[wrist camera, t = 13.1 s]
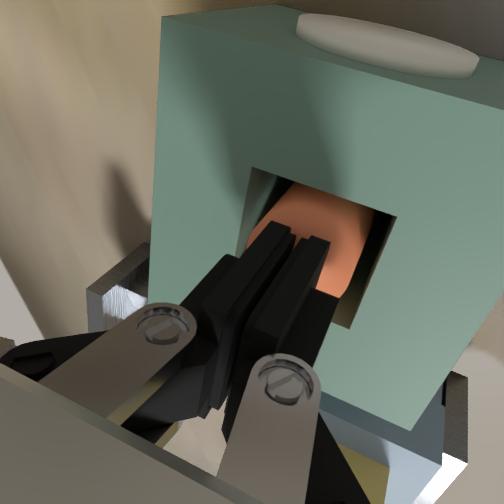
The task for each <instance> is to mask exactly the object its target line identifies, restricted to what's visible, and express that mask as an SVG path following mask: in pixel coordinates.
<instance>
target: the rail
mask: <svg viewBox="0 0 504 504" xmlns="http://www.w3.org/2000/svg"><path fill="white" fill-rule="evenodd" d="M149 265H150V246H149V245H147V244H145V243H143V244H142V245H140V246H139V247H138V248H137V249H135V250H134V251H133V252H132V253H130V254H129V255H128V256H127V257H125V258H124V259H123V260H122V261H120V262H119V263H118V264H117V265H115V266H114V267H113V268H112V269H110V270H109V271H108V272H107V273H105V274H104V275H103V276H102V277H100V278H99V279H98V280H97V281H95V282H94V283H93V284H92V285H90V286H89V287H88V288H87V289H86V297H87V314H88V331H89V333H93V332H100V331H106V330H110V329H111V328H113V327H114V326H116V325H117V324H118V323H120V322H121V321H122V320H124V319H125V318H127V317H128V316H129V315H131V314H132V313H133V312H135V311H136V310H138V309H139V308H141V307H143V306H145V305H148V286H149ZM441 405H443V406H445V425H444V443H443V461H442V467H441V468H440V470H439V471H438V472H437V473H436V475H435V476H434V477H433V478H432V479H431V481H430V482H429V483H428V484H427V486H426V487H425V488H424V489H423V491H422V492H421V493H420V494H419V496H418V497H417V498H416V499H415V501H414V502H413V503H412V504H433V503H434V502H435V501H436V500H437V499H438V497H439V496H440V495H441V494H442V493H443V492H444V490H445V489H446V488H447V487H448V486H449V485H450V484H451V482H452V481H453V480H454V479H455V478H456V477H457V475H458V474H459V473H460V472H461V471H462V470H463V468H464V467H465V466H466V465H467V464H468V463H467V461H468V378H467V377H465V376H462V375H460V374H458V373H456V372H453V371H450V372H449V374H448V375H447V377H446V378H445V380H444V381H443V387H442V402H441Z"/></svg>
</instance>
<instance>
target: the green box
mask: <svg viewBox="0 0 504 504" xmlns="http://www.w3.org/2000/svg"><path fill="white" fill-rule="evenodd" d="M294 182H298V183H301V184H304V185H307V186H310V187H313V188H316V189H319V190H321V191H324V192H327V193H330V194H333V195H336V196H339V197H342V198H345V199H347V200H350V201H353V202H356V203H359V204H362V205H365V206H368V207H371V208H373V209H376V210H379V211H382V212H385V213H388V214H389V216H388V218H387V217H384V216H381V215H379V214H377V215H376V217H375V220H374V222H373V225H372V227H371V230H370V232H369V235H368V237H367V240H366V242H365V245H364V247H363V250H362V252H361V255H360V257H359V260H358V262H357V265H356V267H355V270H354V272H353V275H352V277H351V280H350V282H349V285H348V287H347V289H346V290H345V292H344V293H343V294H342V295H341V296H340V297H339V298H340V300H339V303H338V305H337V308H336V311H335V313H334V316H333V318H332V321H331V324H330V326H329V329H328V331H327V334H326V336H325V339H324V341H323V344H322V346H321V349H320V351H319V354H318V356H317V359H316V361H315V364H314V366H313V370H314V371H315V372H316V374H317V375H318V378H319V380H320V383H321V391H323V392H325V393H327V394H330V395H332V396H334V397H336V398H338V399H341V400H343V401H345V402H347V403H349V404H352V405H354V406H356V407H358V408H360V409H363V410H365V411H367V412H369V413H371V414H374V415H376V416H378V417H380V418H382V419H385V420H387V421H389V422H391V423H393V424H396V425H398V426H400V427H402V428H404V429H406V430H409V431H411V430H412V428H413V427H414V425H415V424H416V422H417V421H418V419H419V418H420V416H421V415H422V413H423V412H424V410H425V409H426V407H427V406H428V404H429V403H430V401H431V400H432V398H433V397H434V395H435V394H436V392H437V390H438V389H439V387H440V386H441V384H442V383H443V381H444V380H445V378H446V377H447V375H448V374H449V372H450V371H451V369H452V368H453V366H454V365H455V363H456V362H457V360H458V359H459V357H460V356H461V354H462V353H463V351H464V350H465V348H466V347H467V345H468V344H469V342H470V341H471V339H472V338H473V336H474V335H475V333H476V332H477V330H478V329H479V327H480V326H481V324H482V323H483V321H484V320H485V318H486V317H487V315H488V314H489V312H490V311H491V309H492V308H493V306H494V305H495V303H496V302H497V300H498V299H499V297H500V296H501V294H502V293H503V291H504V61H501V60H497V59H493V58H489V57H485V56H481V55H477V54H474V53H472V52H470V51H468V50H466V49H464V48H462V47H459V46H456V45H454V44H451V43H448V42H445V41H442V40H439V39H436V38H433V37H430V36H426V35H423V34H419V33H416V32H412V31H408V30H404V29H400V28H396V27H392V26H388V25H383V24H379V23H374V22H369V21H364V20H359V19H353V18H347V17H341V16H334V15H325V14H313V13H309V12H305V11H301V10H297V9H293V8H289V7H285V6H281V5H277V4H270V5H261V6H252V7H243V8H234V9H225V10H216V11H207V12H198V13H189V14H180V15H171V16H162V21H161V41H160V61H159V82H158V102H157V123H156V143H155V163H154V184H153V204H152V224H151V245H150V265H149V286H148V304H152V303H156V302H167V303H173V304H177V305H179V304H180V303H181V302H182V301H183V300H184V299H185V298H186V297H187V296H188V294H189V293H190V292H191V291H192V290H193V289H194V288H195V287H196V286H197V285H198V283H199V282H200V281H201V280H202V279H203V278H204V277H205V276H206V275H207V273H208V272H209V271H210V270H211V269H212V268H213V267H214V266H215V265H216V264H217V262H218V261H219V260H220V259H221V258H222V257H223V256H224V255H225V254H230V255H232V256H235V257H237V258H240V257H241V255H242V254H243V253H244V252H245V251H246V247H247V242H248V238H249V236H250V234H251V232H252V231H253V229H254V228H255V227H256V226H257V225H258V224H259V222H260V221H261V220H262V219H263V218H264V217H265V216H266V214H267V213H268V212H269V211H270V210H271V209H272V207H273V206H274V205H275V204H276V203H277V202H278V201H279V199H280V198H281V197H282V196H283V195H284V194H285V193H286V191H287V190H288V189H289V188H290V187H291V186H292V185H293V183H294Z"/></svg>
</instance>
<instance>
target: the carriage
mask: <svg viewBox="0 0 504 504" xmlns="http://www.w3.org/2000/svg"><path fill="white" fill-rule="evenodd" d="M442 387H443V383H442V384H441V386H440V387H439V389H438V390H437V392H436V394H435V395H434V397H433V398H432V400H431V401H430V403H429V404H428V406H427V407H426V409H425V410H424V412H423V413H422V415H421V416H420V418H419V419H418V421H417V422H416V424H415V425H414V427H413V428H412V430H411V431H409V430H406V429H404V428H402V427H400V426H398V425H396V424H393V423H391V422H389V421H387V420H385V419H382V418H380V417H378V416H376V415H374V414H371V413H369V412H367V411H365V410H363V409H360V408H358V407H356V406H354V405H352V404H349V403H347V402H345V401H343V400H341V399H338V398H336V397H334V396H332V395H330V394H327V393H325V392H323V391H321V397H320V404H319V413H320V415H321V416H322V418H323V420H324V422H325V423H326V425H327V427H328V429H329V431H330V432H331V434H332V436H333V438H334V439H335V441H336V443H337V445H338V446H339V448H340V450H341V452H342V454H343V455H344V457H345V459H346V461H347V462H348V464H349V466H350V468H351V469H352V471H353V473H354V475H355V477H356V478H357V480H358V482H359V484H360V485H361V487H362V489H363V491H364V492H365V494H366V496H367V498H368V500H369V501H370V503H371V504H412V503H413V502H414V501H415V499H416V498H417V497H418V496H419V494H420V493H421V492H422V491H423V489H424V488H425V487H426V486H427V484H428V483H429V482H430V481H431V479H432V478H433V477H434V476H435V475H436V473H437V472H438V471H439V470H440V468H441V467H442V461H443V443H444V425H445V406H443V405H441V402H442Z"/></svg>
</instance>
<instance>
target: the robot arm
mask: <svg viewBox="0 0 504 504" xmlns="http://www.w3.org/2000/svg"><path fill="white" fill-rule="evenodd" d="M290 232H291V227H289V226H286V225H283V224H281V223H278V222H275V221H273V220H271V221H270V222H269V223H268V224H267V226H266V227H265V228H264V229H263V230H262V232H261V233H260V234H259V235H258V236H257V238H256V239H255V240H254V241H253V242H252V243H251V245H250V246H249V247H248V248H247V249H246V251H245V252H244V253H243V254H242V255H241V257H240V258H237V257H235V256H232V255H230V254H225V255H224V256H223V257H222V258H221V259H220V260H219V261H218V262H217V264H216V265H215V266H214V267H213V268H212V269H211V270H210V271H209V272H208V273H207V275H206V276H205V277H204V278H203V279H202V280H201V281H200V282H199V283H198V285H197V286H196V287H195V288H194V289H193V290H192V291H191V292H190V293H189V294H188V296H187V297H186V298H185V299H184V300H183V301H182V302H181V303H180V304H179V305H177V304H173V303H167V302H156V303H152V304H148V305H145V306H143V307H141V308H139V309H138V310H136V311H135V312H133V313H132V314H131V315H129V316H128V317H127V318H125V319H124V320H122V321H121V322H120V323H118V324H117V325H116V326H114V327H113V328H111V329H110V330H106V331H100V332H93V333H86V334H79V335H73V336H66V337H59V338H52V339H46V340H39V341H33V342H29V343H25V344H21V345H19V346H15V343H14V340H11V339H7V338H3V337H0V504H371V503H370V501H369V500H368V498H367V496H366V494H365V492H364V491H363V489H362V487H361V485H360V484H359V482H358V480H357V478H356V477H355V475H354V473H353V471H352V469H351V468H350V466H349V464H348V462H347V461H346V459H345V457H344V455H343V454H342V452H341V450H340V448H339V446H338V445H337V443H336V441H335V439H334V438H333V436H332V434H331V432H330V431H329V429H328V427H327V425H326V423H325V422H324V420H323V418H322V416H321V415H320V413H319V404H320V397H321V383H320V380H319V378H318V375H317V374H316V372H315V371H314V370H313V366H314V364H315V361H316V359H317V356H318V354H319V351H320V349H321V346H322V344H323V341H324V339H325V336H326V334H327V331H328V329H329V326H330V324H331V321H332V318H333V316H334V313H335V311H336V308H337V305H338V303H339V300H340V298H338V297H335V296H333V295H330V294H328V293H325V292H323V291H320V290H318V289H316V286H317V283H318V280H319V277H320V274H321V272H322V269H323V266H324V263H325V260H326V257H327V254H328V251H329V248H330V244H331V242H329V241H327V240H324V239H321V238H319V237H316V236H313V235H311V236H310V237H309V239H306V238H303V237H302V238H301V239H300V240H299V242H298V243H297V245H296V246H295V248H294V249H293V247H294V244H295V240H296V235H295V234H292V233H290ZM227 396H228V398H227ZM226 398H227V402H226V406H225V411H224V413H225V416H224V421H223V425H222V429H221V430H222V432H223V435H224V438H225V441H226V443H227V446H226V449H225V452H224V455H223V458H222V461H221V464H220V467H219V470H218V473H217V476H216V477H215V476H213V475H211V474H209V473H207V472H205V471H203V470H202V469H200V468H198V467H196V466H194V465H192V464H190V463H188V462H187V461H185V460H183V459H181V458H179V457H177V456H175V455H173V454H172V453H170V452H168V451H166V450H164V449H162V448H163V447H164V446H165V445H166V444H167V443H168V441H169V440H170V439H171V438H172V437H173V436H174V435H175V434H176V432H177V431H178V430H179V428H180V427H181V425H182V422H183V420H186V419H190V418H194V417H197V416H199V417H201V418H203V419H205V418H206V416H207V415H208V413H209V411H210V410H211V408H214V409H216V410H219V409H220V408H221V406H222V404H223V403H224V401H225V399H226Z"/></svg>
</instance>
